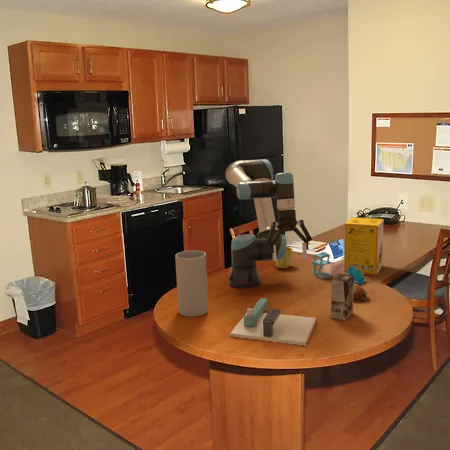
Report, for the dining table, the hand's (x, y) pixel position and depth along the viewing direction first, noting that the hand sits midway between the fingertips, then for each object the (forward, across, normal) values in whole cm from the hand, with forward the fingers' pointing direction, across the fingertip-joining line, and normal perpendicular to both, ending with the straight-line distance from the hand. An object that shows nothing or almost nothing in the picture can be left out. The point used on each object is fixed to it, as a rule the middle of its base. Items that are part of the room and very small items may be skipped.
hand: (290, 259), depth 216 cm
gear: (+16, +39, +18) cm, 46 cm away
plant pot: (+8, +15, +53) cm, 56 cm away
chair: (+12, +28, +34) cm, 45 cm away
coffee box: (+23, +15, -14) cm, 31 cm away
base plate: (+24, -15, -19) cm, 34 cm away
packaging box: (+12, +52, +37) cm, 65 cm away
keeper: (+24, -17, -22) cm, 37 cm away
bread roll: (+20, +29, +1) cm, 35 cm away
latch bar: (+20, -19, -9) cm, 29 cm away
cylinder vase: (+19, -42, +8) cm, 46 cm away
